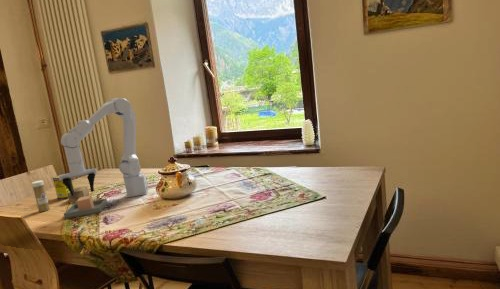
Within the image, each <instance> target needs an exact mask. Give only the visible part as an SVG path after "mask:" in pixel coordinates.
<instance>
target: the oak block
mask: <svg viewBox="0 0 500 289" xmlns="http://www.w3.org/2000/svg"><path fill="white" fill-rule="evenodd" d="M73 189H74V193H75V194H74V196H72V195H71V193H70V191H69V192H68V193H67V195H68V199H67V200H68V203H70V202H72V203H76V202H75V201H77V200H78V199H79V198H80V197H85V196H90V193H89V188H88V186H87V185H86V186H81V187H74V188H73ZM70 204H71V203H70Z"/></svg>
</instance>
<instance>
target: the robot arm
mask: <svg viewBox="0 0 500 289" xmlns="http://www.w3.org/2000/svg"><path fill="white" fill-rule="evenodd" d="M110 114H115V115H117V116H119V117H120V118H121V119H122V120H123V122H122V124H123V126H122V129H123V131H122V134H123V135H122V137H123V138H122V139H123V141H122V142H123V144H122V145H123V147H122V150H123V152H122V156H121V158H120V159H121V160H120V163H119V165H118V169H119V172H121V174H122V178H123V182H124V187H125V191H126V194H125V196H124V198H125V199H126V198H131V197H133V198H134V197H138V196H139V197H140V196H142V195H143V196H144V195H147V193H148V191H149V187H148V183H147V182H148V181H147V177H146V174H145V173H141V170H142V167H141V165H140V160H139V157H138V156H137V139H136V138H137V129H136V128H137V116H136V113H135V111H134V109H133V107H132V103H131V101H129V100H128V99H127V98H125V97H117V98H110V99H109V100H108V101H106V102H104V104H102V105H101V107H99V108H98V109H97V110H96V111H95V112H94V113H93V114H92V115H91V116H89V117H88V119H82V120H78V121H77V124H76V125H75V126H74V127H72V128H70V129H68V132H67V133H64V134H63V135H62V136H61V138H60V144H61V146H63V148H64V153H65V157H66V161H67V165H68V168H69V169H68V170H69V172H67V173H63V174H60V175H58V176H59V179H60V180H63V184H64V185H65V186H66V187H67V188H68V189H69V191H70V193H71V195H72V196H74V194H75V193H74V189H73V187H74V184H73V185H72V182H73V179H74V178H78V177H84V176H87V177H86V178H87V181H88V184H89V189H90V192H91V193H92V192H94V190H95V189H94V184H95V178H96V175H97V174H98V168H89V169H88V168H87V169H86V168H85V165H84V164H85V163H84V160H83V156H82V151H81V148H80V143H81V141H82V140H83V139H84V138H85V137H87V136H88V135H89V134H90V133H91V132H93V130H94V126H95V125H96V124H97V123H99V122H100V121H101V120H102V119H104V117H106V116H107V115H110ZM71 178H72V179H71Z"/></svg>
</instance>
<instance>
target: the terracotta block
mask: <svg viewBox="0 0 500 289" xmlns="http://www.w3.org/2000/svg"><path fill="white" fill-rule="evenodd" d="M93 201H94V200H93V196H92V195H91V194H90V195H89V196H85V197H80V198H79V199H78V200H77V202H76V204H77V205H78V209H79V211H80V210H86V209H92V208H93V207H94V204H93Z"/></svg>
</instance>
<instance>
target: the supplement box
mask: <svg viewBox="0 0 500 289" xmlns="http://www.w3.org/2000/svg"><path fill="white" fill-rule="evenodd" d="M71 179H72V180H73V178H71ZM52 182H53V185H54V189H55V193H56V198H57V200H64V199H65V200H69V199H68V195H67V193H68V192H69V189H68V188H67V187H66V186H65V185H64V184H63V180H60V179H59V175H57V176H54V177H52ZM72 185H73V188H75V187H74V183H73V181H72Z"/></svg>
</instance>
